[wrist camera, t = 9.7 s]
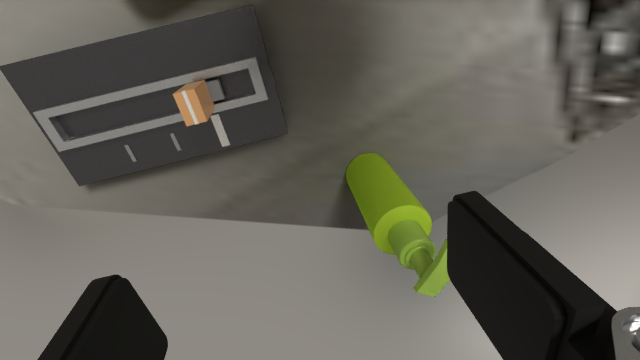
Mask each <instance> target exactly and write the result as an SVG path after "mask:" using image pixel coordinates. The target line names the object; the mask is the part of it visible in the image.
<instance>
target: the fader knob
mask: <svg viewBox="0 0 640 360" xmlns="http://www.w3.org/2000/svg"><path fill="white" fill-rule="evenodd" d="M173 96H174V99H175V101H176V103H177V105H178V108H179V110H180V112H181V114H182V117H183V119H184V121H185V124H186V126H190V125H194V124H195V125H196V124H199V123H202V122H206V121H208V119H209V118H210V116H211V115H212V113H213V111H214V110H215V106H214V103H213V102H214V101H218V100H222V99H225V95H224V92H223V89H222V86H221V84H220V81H219V79H215V80H211V81H207V82H205V80H201V81H197V82H193V83H189V84H186V85H184V86H183V87H182V88H180V89H179V90H178V91H176V92H175V93H174V94H173Z"/></svg>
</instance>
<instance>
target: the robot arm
mask: <svg viewBox="0 0 640 360" xmlns="http://www.w3.org/2000/svg"><path fill="white" fill-rule="evenodd" d="M447 230H448V231H447V273H448V276H449V278H450V280H451V282H452V283H453V285H454V286H455V288H456V289H457V291H458V292H459V294H460V295H461V297H462V298H463V300H464V301H465V303H466V304H467V306H468V307H469V309H470V310H471V312H472V313H473V315H474V316H475V318H476V319H477V321H478V322H479V324H480V325H481V327H482V328H483V330H484V331H485V333H486V334H487V336H488V337H489V339H490V340H491V342H492V343H493V345H494V346H495V348H496V349H497V351H498V352H499V354H500V355H501V357H502V358H503V360H640V307H628V308H625V309H622V310H619V311H618V312H617V311H616V310H615V309H614V308H613V307H612V306H610V305H609V304H608V303H607V302H606V301H604V300H603V299H602V298H601V297H600V296H599V295H598V294H596V293H595V292H594V291H593V290H592V289H591V288H589V287H588V286H587V285H586V284H585V283H584V282H582V281H581V280H580V279H579V278H578V277H577V276H576V275H574V274H573V273H572V272H571V271H570V270H569V269H567V268H566V267H565V266H564V265H563V264H562V263H560V262H559V261H558V260H557V259H556V258H554V256H552V255H551V254H550V253H549V252H548V251H547V250H545V249H544V248H543V247H542V246H541V245H540V244H538V243H537V242H536V241H535V240H534V239H533V238H531V237H530V236H529V235H528V234H527V233H525V232H524V231H522V230H521V229H520V228H519V227H518V226H516V225H515V224H514V223H513V222H512V221H510V220H509V219H508V218H507V217H506V216H505V215H504V214H503V213H501V212H500V211H499V210H498V209H497V208H496V207H494V206H493V205H492V204H491V203H490V202H489V201H487V200H486V199H485V198H484V197H483V196H482V195H481V194H479V193H478V192H476V191H471V192H467V193H463V194H458V195H455V196H454V197H453V201H451V202H449V203H448V227H447ZM167 347H168V342H167V337H166V335H165V334H164V332H163V331H162V329H161V328H160V327H159V325H158V323H157V322H156V321H155V319H154V318H153V316H152V315H151V313H150V312H149V310H148V309H147V307H146V306H145V304H144V303H143V301H142V300H141V298H140V297H139V296H138V294H137V292H136V291H135V289H134V288H133V287H132V285H131V283H130V282H129V281H128V280H127V279H126V278H122V277H121V276H119V275H111V276H107V277H103V278H98V279H95V280H93V281H92V282H91V283H90V284H89V285H88V287H87V288H86V290H85V291H84V292H83V294H82V295H81V297H80V298H79V300H78V301H77V303H76V304H75V306H74V307H73V309H72V310H71V311H70V313H69V315H68V316H67V317H66V319H65V320H64V322H63V323H62V325H61V326H60V328H59V329H58V330H57V332H56V333H55V335H54V336H53V338H52V339H51V341H50V342H49V344H48V345H47V347H46V348H45V350H44V351H43V352H42V354H41V355H40V357H39V358H38V360H164V358H165V355H166V351H167Z"/></svg>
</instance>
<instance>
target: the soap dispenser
mask: <svg viewBox="0 0 640 360" xmlns="http://www.w3.org/2000/svg"><path fill="white" fill-rule="evenodd" d="M346 180H347V183H348V185H349V187H350V189H351V191H352V194H353V196H354V198H355V200H356V202H357V205H358V207H359V209H360V211H361V213H362V215H363V218H364V220H365V222H366V224H367V226H368V229H369V231H370V233H371V235H372V237H373V239H374V242H375V243H376V245H377V247H378V248H379V249H380V250H382V251H383V252H385V253H388V254H393V255H396V256H397V258H398V260H399V262H400V264H401V265H402V266H403V267H405V268H407V269H412V270H413V269H415V271H416V273H417V274H418V276H419V278H420V279H419V281H418V282H417V283H416V285H415V286H414V287H413V288H414V290H415V291H416V293H420V294H425V295H429V296H433V297H435V296H436V295H437V294H438V293H439V292H440V291H441V290H442V289H443V288H444V286H445V285H446V284H447V283H448V282H449V281H450V278H449V276H448V273H447V239H446V240H445V241H444V243H443V245H442V247H441V249H440V251H439V253H438V255H437V256H436V258H435V259H434V261H433V258H434V256H435V253H436V248H435V245H434V244H433V242H432V241H431V239H430V238H429V237H428V236H429V234H430V232H431V228H432V221H431V218H430V216H429V214H428V213H427V211H426V210H425V209H424V208H423V206H422V205H421V204H420V203H419V201H418V200H417V199H416V198H415V196H414V195H413V194H412V193H411V191H410V190H409V189H408V188H407V186H406V185H405V184H404V183H403V181H402V180H401V179H400V178H399V176H398V175H397V174H396V173H395V171H394V170H393V169H392V168H391V166H390V165H389V164H388V163H387V161H386V160H385V159H384V158H383V157H382V156H380V155H378V154H375V153H365V154H362V155H359V156H357V157H356V158H355V159H353V160H352V161H351V163H350V164H349V166H348V168H347V171H346Z"/></svg>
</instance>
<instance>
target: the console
mask: <svg viewBox="0 0 640 360" xmlns="http://www.w3.org/2000/svg"><path fill="white" fill-rule="evenodd" d="M0 70H1V71H2V73H3V74H4V75H5V77H6V78H7V80H8V81H9V83H10V84H11V86H12V87H13V89H14V90H15V92H16V93H17V95H18V96H19V98H20V99H21V101H22V102H23V104H24V105H25V107H26V108H27V110H28V111H29V112H30V114H31V115H32V117H33V118H34V120H35V121H36V123H37V124H38V126H39V127H40V129H41V130H42V132H43V133H44V135H45V136H46V138H47V139H48V141H49V142H50V144H51V145H52V147H53V148H54V150H55V151H56V152H57V154H58V155H59V157H60V158H61V160H62V161H63V163H64V164H65V166H66V167H67V169H68V170H69V172H70V173H71V175H72V176H73V178H74V179H75V181H76V182H77V184H78V185H79V186H82V185H86V184H90V183H94V182H98V181H102V180H106V179H110V178H114V177H117V176H121V175H125V174H129V173H133V172H137V171H141V170H145V169H149V168H153V167H157V166H161V165H165V164H169V163H173V162H177V161H181V160H185V159H189V158H193V157H197V156H201V155H205V154H208V153H212V152H216V151H220V150H224V149H228V148H232V147H236V146H240V145H244V144H248V143H252V142H256V141H260V140H264V139H268V138H272V137H276V136H280V135H284V134H288V130H287V125H286V121H285V118H284V114H283V110H282V107H281V103H280V100H279V96H278V92H277V89H276V85H275V82H274V78H273V74H272V71H271V67H270V64H269V60H268V56H267V53H266V49H265V45H264V42H263V38H262V35H261V31H260V27H259V24H258V20H257V17H256V13H255V9H254V6H253V5H249V6H244V7H240V8H236V9H232V10H228V11H224V12H220V13H216V14H212V15H208V16H203V17H199V18H195V19H191V20H187V21H183V22H179V23H175V24H171V25H167V26H162V27H158V28H154V29H150V30H146V31H142V32H138V33H134V34H130V35H126V36H122V37H117V38H113V39H109V40H105V41H101V42H97V43H93V44H89V45H85V46H81V47H76V48H72V49H68V50H64V51H60V52H56V53H52V54H48V55H44V56H40V57H35V58H31V59H27V60H23V61H19V62H15V63H11V64H7V65H3V66H0ZM215 79H219V81H220V84H221V86H222V89H223V92H224V95H225V99H222V100H218V101H214V102H213V103H214V106H215V110H214V111H213V113H212V115H211V116H210V118H209V119H208V121H206V122H202V123H199V124H196V125H195V124H194V125H190V126H186V124H185V121H184V119H183V117H182V114H181V112H180V110H179V108H178V105H177V103H176V101H175V99H174V96H173V94H174V93H175V92H176V91H178V90H179V89H180V88H182V87H183V86H184V85H186V84H189V83H193V82H197V81H201V80H205V82H207V81H211V80H215Z"/></svg>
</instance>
